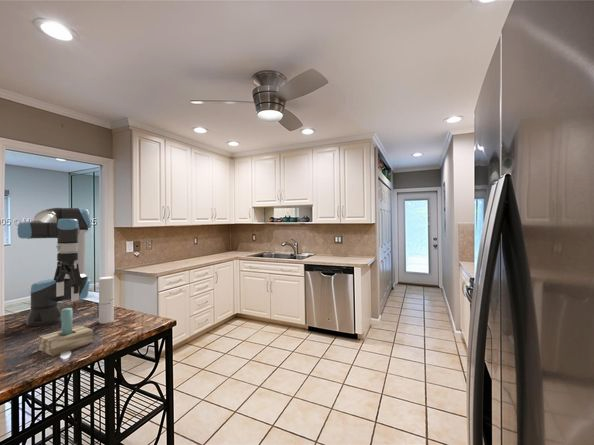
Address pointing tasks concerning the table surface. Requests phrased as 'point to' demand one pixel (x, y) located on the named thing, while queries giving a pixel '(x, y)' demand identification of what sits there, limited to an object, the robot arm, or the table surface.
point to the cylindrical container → (106, 299)
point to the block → (65, 340)
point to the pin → (66, 322)
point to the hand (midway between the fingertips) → (67, 298)
